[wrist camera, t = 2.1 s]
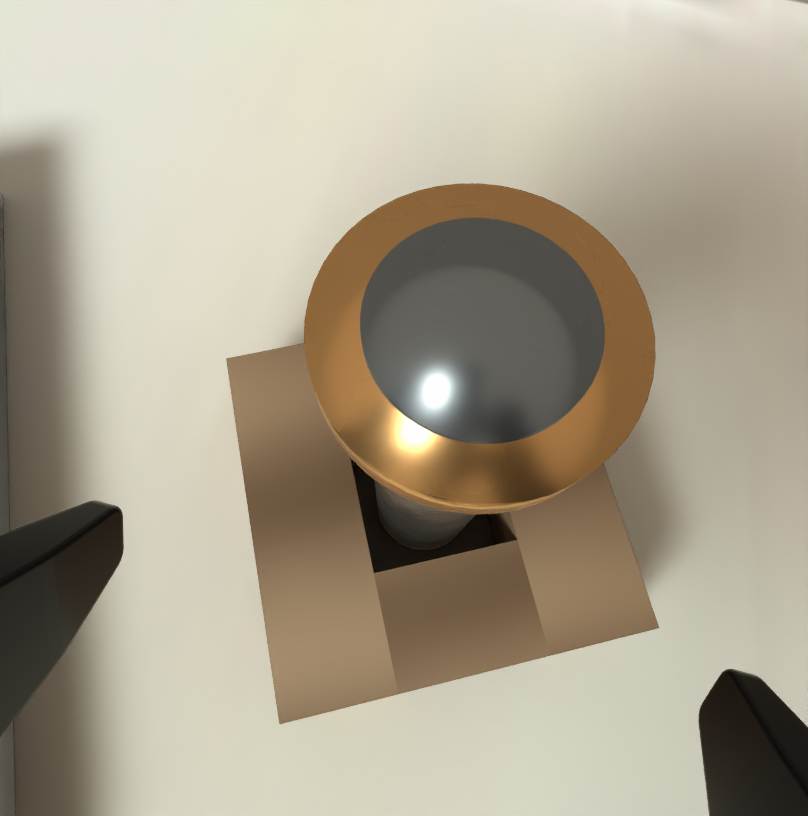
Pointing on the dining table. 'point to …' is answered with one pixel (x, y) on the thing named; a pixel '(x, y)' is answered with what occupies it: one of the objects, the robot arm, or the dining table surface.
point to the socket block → (409, 566)
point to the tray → (3, 786)
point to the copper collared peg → (476, 354)
